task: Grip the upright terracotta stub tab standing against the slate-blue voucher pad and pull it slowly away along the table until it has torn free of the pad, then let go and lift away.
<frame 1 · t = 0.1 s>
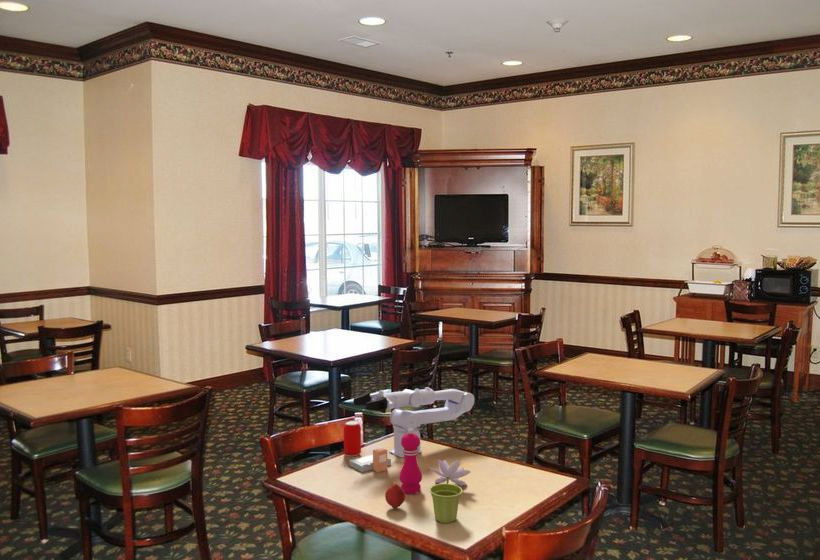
hand: (360, 403, 242), 22 cm above the table, tool horizontal, fingers open, 7 cm apart
onion: (395, 508, 206), on the table
plant pot: (446, 519, 199), on the table
voucher pad: (370, 465, 243), on the table
water lily: (451, 488, 223), on the table
beverage can: (352, 455, 254), on the table
pepper mill: (410, 491, 220), on the table
stub tab: (380, 460, 238), point 4 cm above the table, slide at 0.0 cm
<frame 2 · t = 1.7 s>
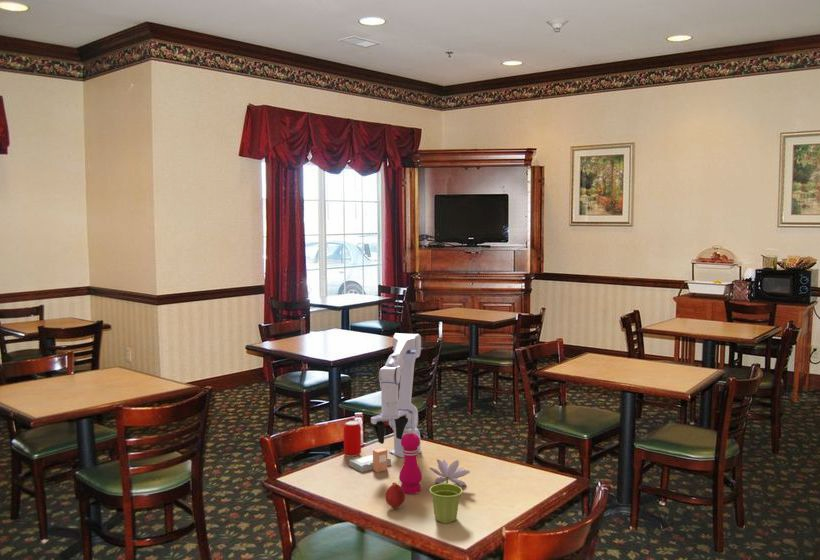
hand: (390, 440, 237), 10 cm above the table, tool pointing down, fingers open, 7 cm apart
nothing on the table moved.
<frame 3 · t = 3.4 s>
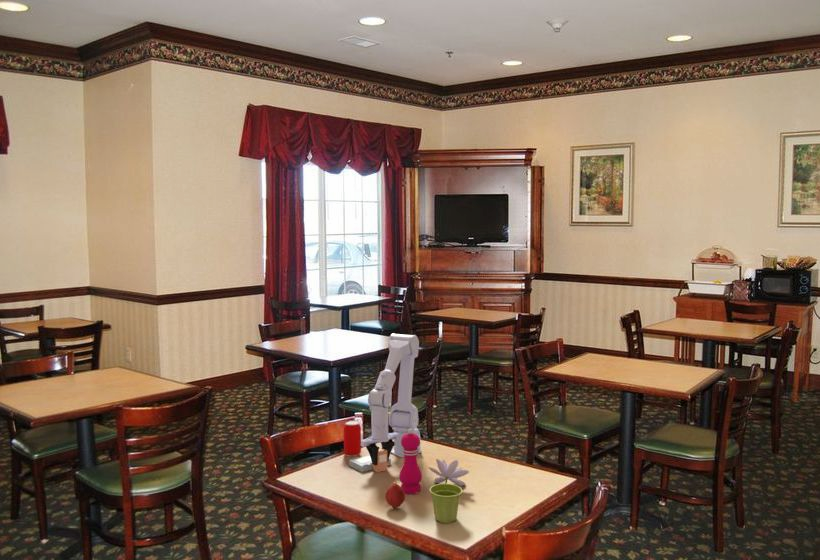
hand: (380, 463, 238), 2 cm above the table, tool pointing down, fingers closed on stub tab, 4 cm apart
stub tab: (380, 460, 238), point 4 cm above the table, slide at 0.0 cm, touching gripper
everything else where it was.
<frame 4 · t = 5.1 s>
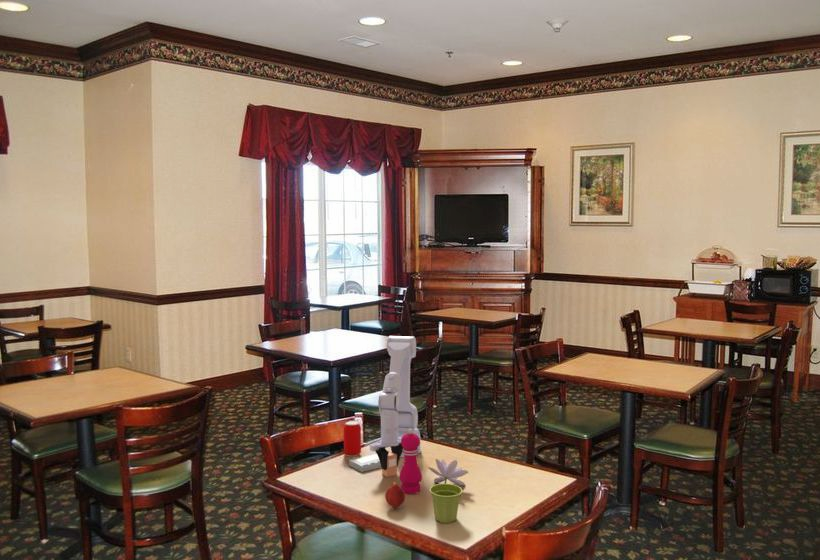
hand: (389, 467, 234), 2 cm above the table, tool pointing down, fingers closed on stub tab, 4 cm apart
stub tab: (389, 464, 234), point 4 cm above the table, slide at 5.5 cm, touching gripper
everything else where it was.
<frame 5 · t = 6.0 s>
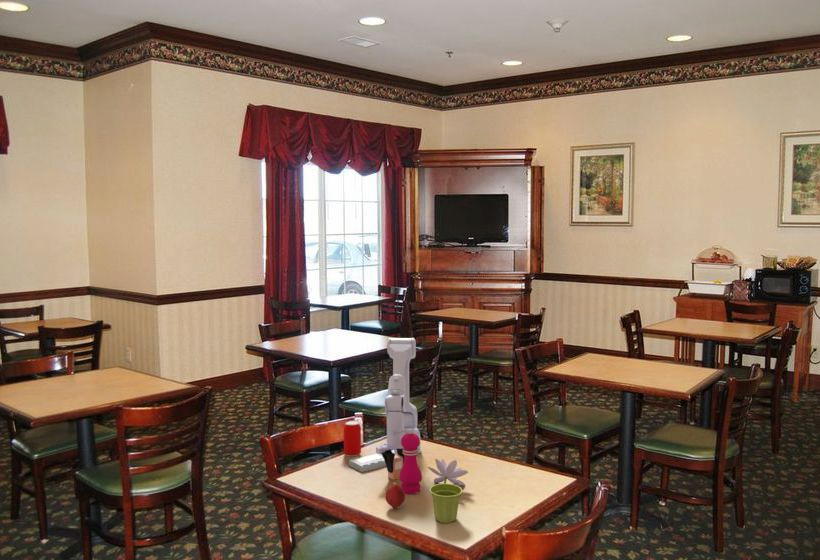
hand: (395, 470, 231), 2 cm above the table, tool pointing down, fingers closed on stub tab, 4 cm apart
stub tab: (395, 467, 231), point 4 cm above the table, slide at 8.9 cm, touching gripper
everything else where it was.
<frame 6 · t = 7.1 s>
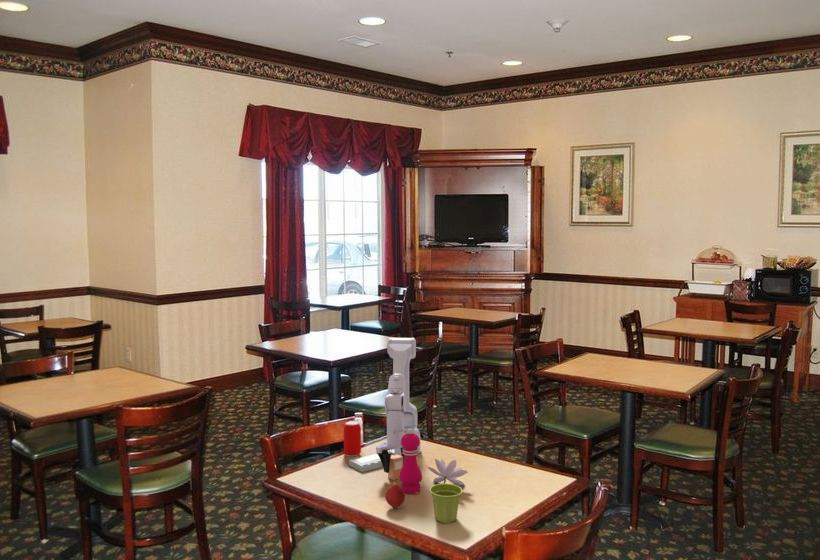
hand: (395, 469, 231), 3 cm above the table, tool pointing down, fingers open, 7 cm apart
stub tab: (395, 467, 231), point 4 cm above the table, slide at 8.9 cm
everything else where it was.
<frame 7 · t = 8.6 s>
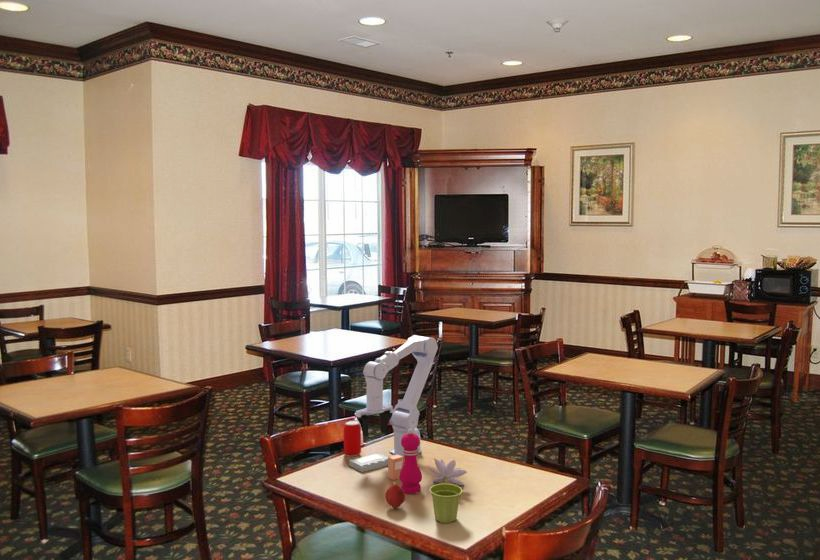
hand: (374, 434, 245), 10 cm above the table, tool pointing down, fingers open, 7 cm apart
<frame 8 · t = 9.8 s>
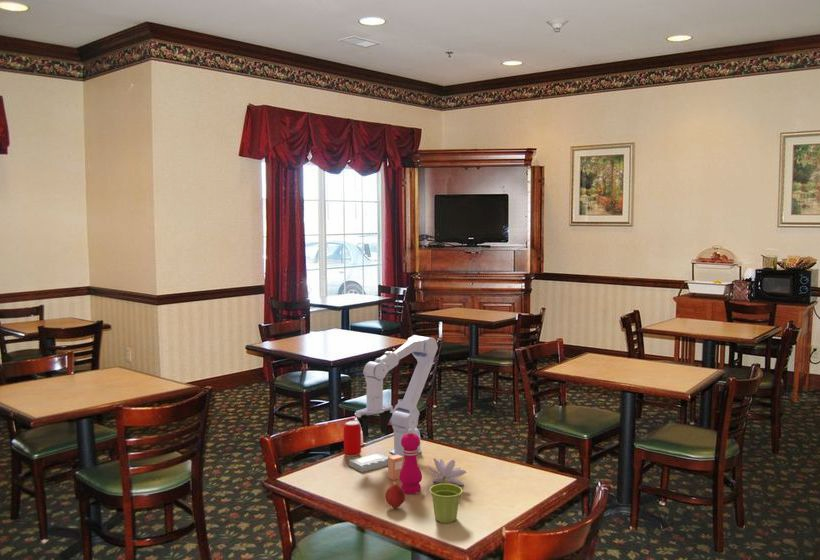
hand: (374, 434, 245), 10 cm above the table, tool pointing down, fingers open, 7 cm apart
at the end: stub tab slide at 8.9 cm; the gripper is holding nothing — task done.
